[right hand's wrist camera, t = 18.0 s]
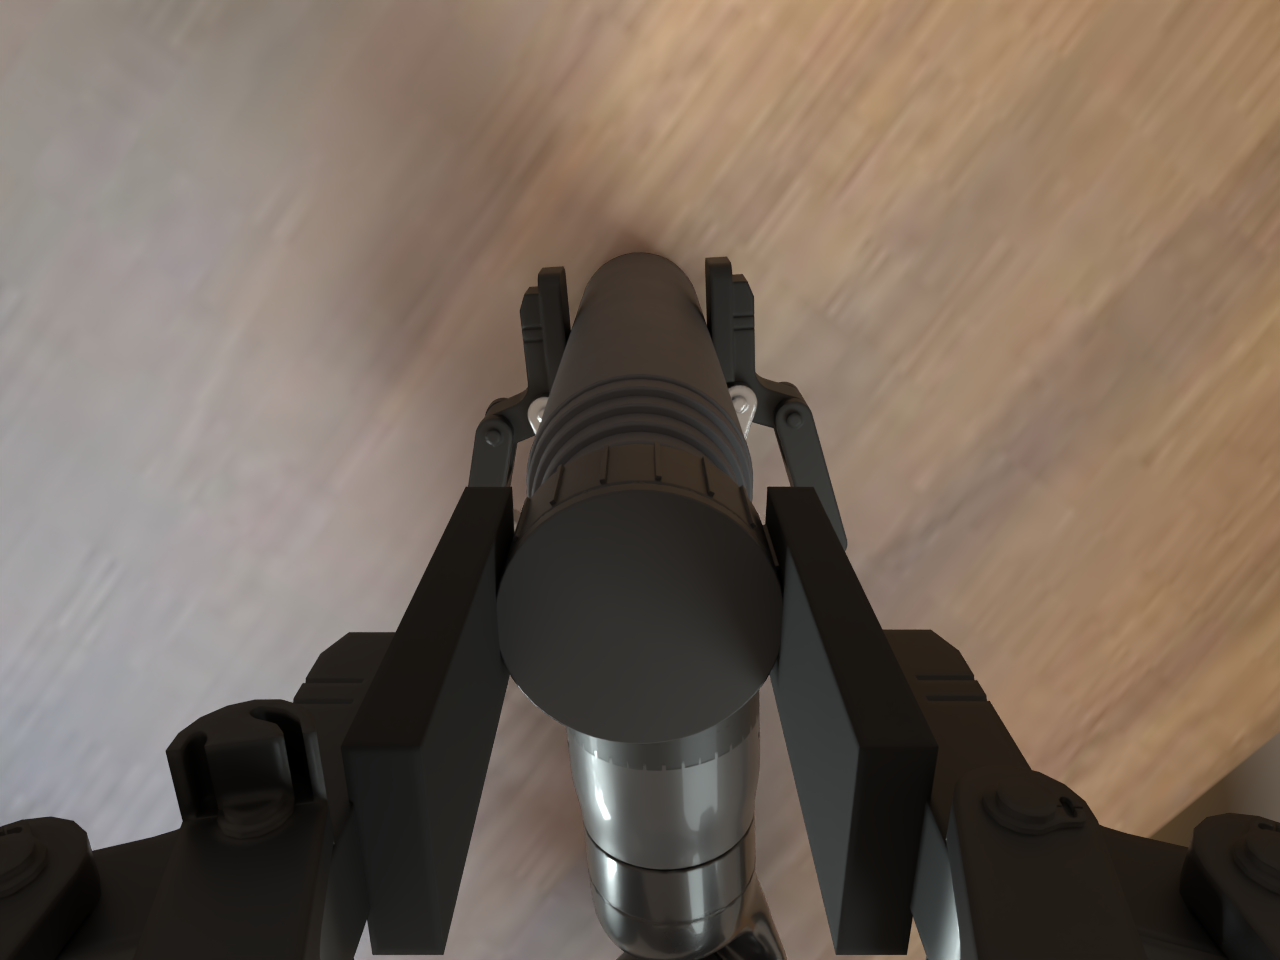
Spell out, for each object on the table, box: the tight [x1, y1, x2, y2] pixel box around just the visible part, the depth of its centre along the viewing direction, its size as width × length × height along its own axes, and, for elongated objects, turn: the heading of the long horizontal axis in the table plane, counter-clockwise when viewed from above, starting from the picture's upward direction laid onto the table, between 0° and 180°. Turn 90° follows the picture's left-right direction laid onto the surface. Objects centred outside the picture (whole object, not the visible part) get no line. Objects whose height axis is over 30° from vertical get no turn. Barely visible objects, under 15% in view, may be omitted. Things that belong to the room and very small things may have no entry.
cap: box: [496, 442, 783, 744], centre depth 14 cm, size 4×4×2 cm
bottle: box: [526, 253, 753, 502], centre depth 24 cm, size 5×5×23 cm
